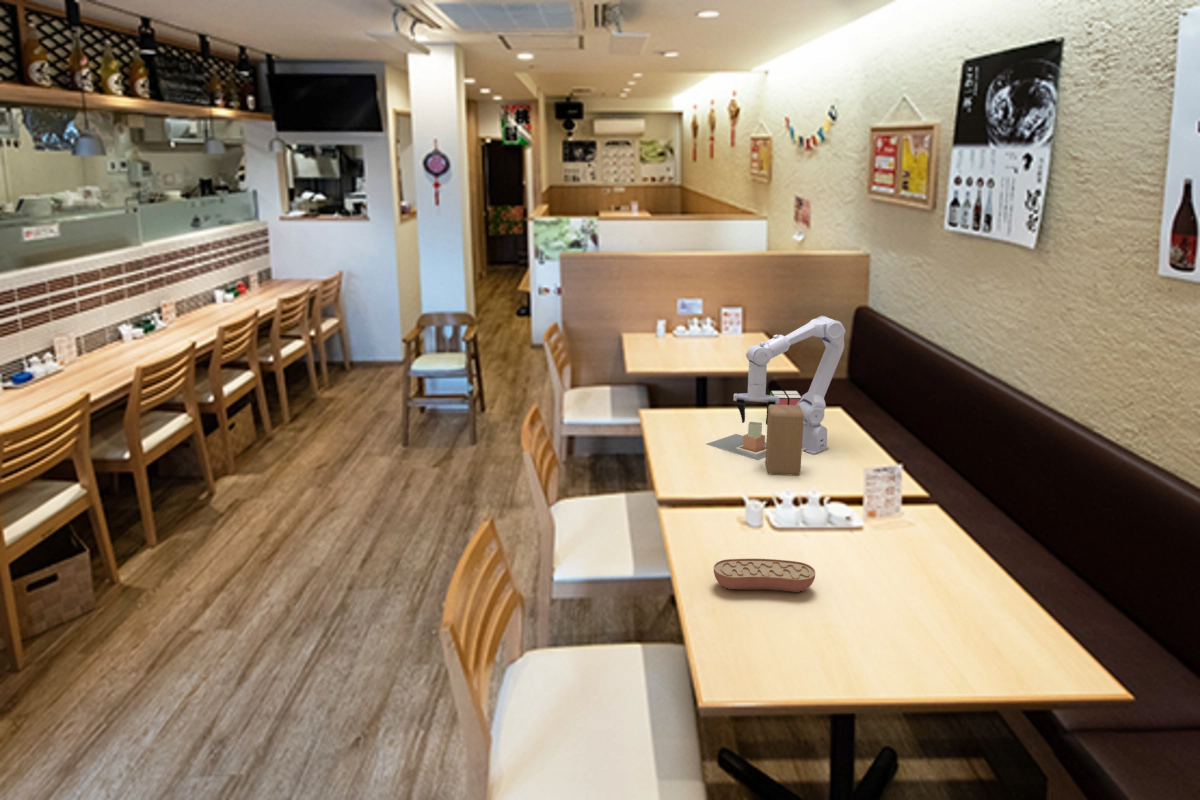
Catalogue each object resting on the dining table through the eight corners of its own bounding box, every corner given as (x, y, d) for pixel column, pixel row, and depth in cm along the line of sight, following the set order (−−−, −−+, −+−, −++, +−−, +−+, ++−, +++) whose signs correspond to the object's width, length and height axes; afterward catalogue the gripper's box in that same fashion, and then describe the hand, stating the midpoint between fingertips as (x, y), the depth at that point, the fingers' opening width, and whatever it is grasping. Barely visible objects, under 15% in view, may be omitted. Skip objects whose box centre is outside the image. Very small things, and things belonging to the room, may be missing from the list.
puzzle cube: (801, 424, 323) (802, 398, 321) (773, 424, 324) (774, 398, 321) (795, 416, 333) (797, 390, 330) (768, 416, 333) (770, 390, 331)
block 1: (761, 434, 294) (762, 422, 292) (760, 437, 290) (760, 426, 289) (749, 433, 295) (749, 421, 294) (747, 436, 291) (748, 425, 290)
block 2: (764, 450, 294) (765, 435, 292) (755, 453, 290) (755, 438, 289) (752, 446, 297) (753, 432, 296) (742, 449, 294) (743, 435, 292)
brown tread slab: (713, 596, 201) (714, 576, 200) (712, 576, 211) (712, 556, 209) (816, 600, 199) (818, 580, 198) (810, 579, 209) (812, 560, 207)
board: (787, 451, 295) (788, 446, 294) (757, 463, 284) (757, 457, 284) (735, 436, 310) (736, 431, 310) (705, 446, 300) (705, 441, 300)
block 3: (796, 464, 283) (800, 404, 277) (800, 476, 273) (804, 413, 268) (765, 463, 284) (767, 403, 278) (767, 475, 274) (770, 412, 269)
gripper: (780, 380, 289) (778, 420, 293) (736, 378, 293) (734, 417, 297) (779, 386, 282) (776, 427, 286) (733, 383, 286) (731, 423, 290)
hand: (755, 422), depth 291 cm, fingers open, 7 cm apart
